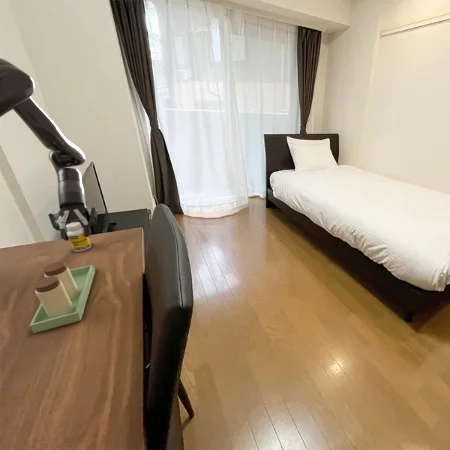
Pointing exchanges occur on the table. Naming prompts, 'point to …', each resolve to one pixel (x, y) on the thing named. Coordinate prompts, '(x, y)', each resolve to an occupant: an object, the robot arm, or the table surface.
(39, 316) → the tray
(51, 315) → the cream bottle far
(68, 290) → the cream bottle middle
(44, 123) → the robot arm
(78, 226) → the supplement bottle
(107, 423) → the table surface
